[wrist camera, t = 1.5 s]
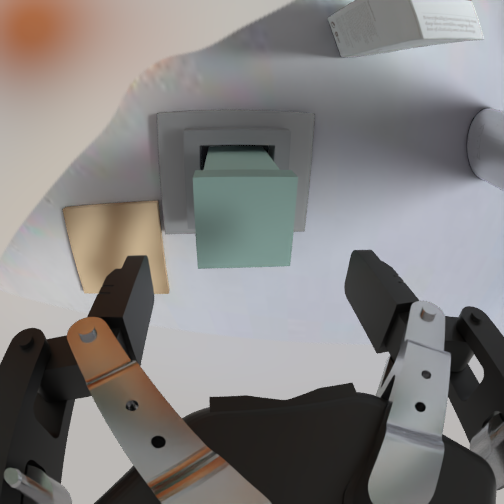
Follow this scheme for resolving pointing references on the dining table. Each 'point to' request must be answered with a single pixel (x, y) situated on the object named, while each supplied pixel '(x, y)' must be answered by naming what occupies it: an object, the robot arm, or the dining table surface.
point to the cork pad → (115, 240)
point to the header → (228, 133)
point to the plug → (243, 209)
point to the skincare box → (402, 25)
